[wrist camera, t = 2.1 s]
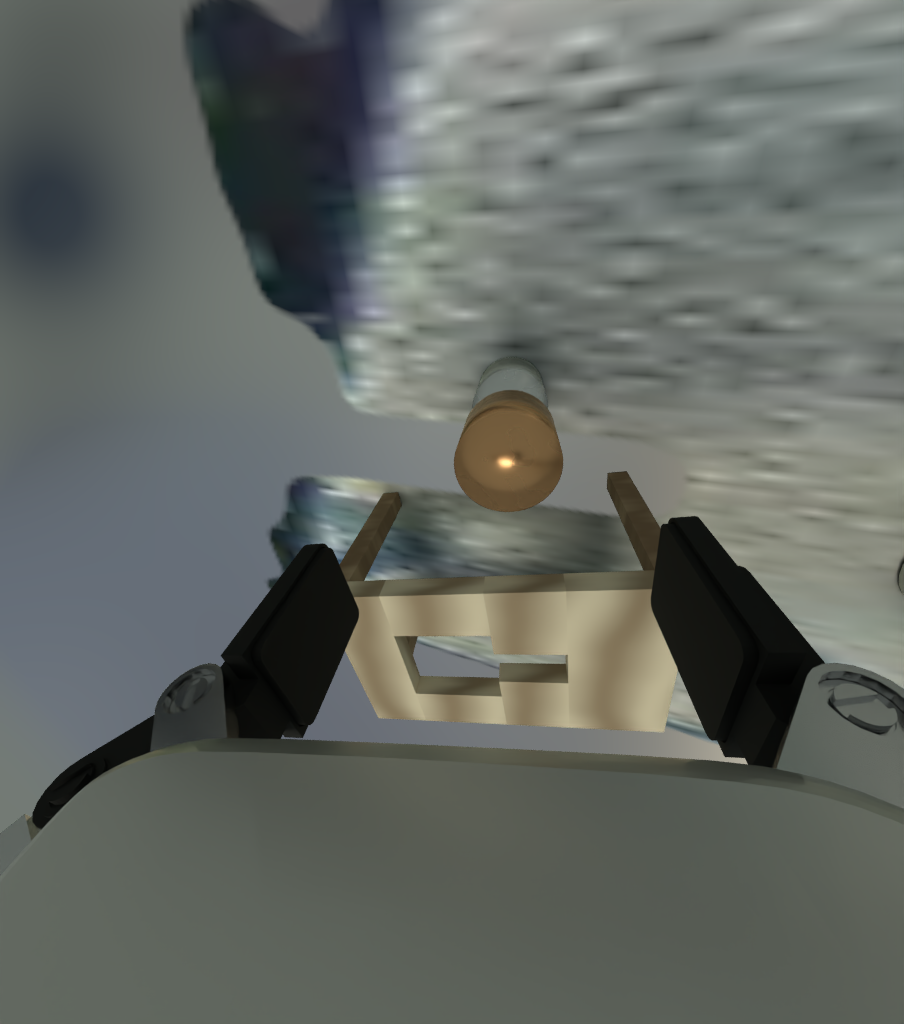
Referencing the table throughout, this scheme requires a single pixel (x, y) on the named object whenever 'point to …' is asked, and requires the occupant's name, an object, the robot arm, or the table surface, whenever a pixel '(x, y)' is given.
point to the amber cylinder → (509, 440)
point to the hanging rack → (518, 636)
